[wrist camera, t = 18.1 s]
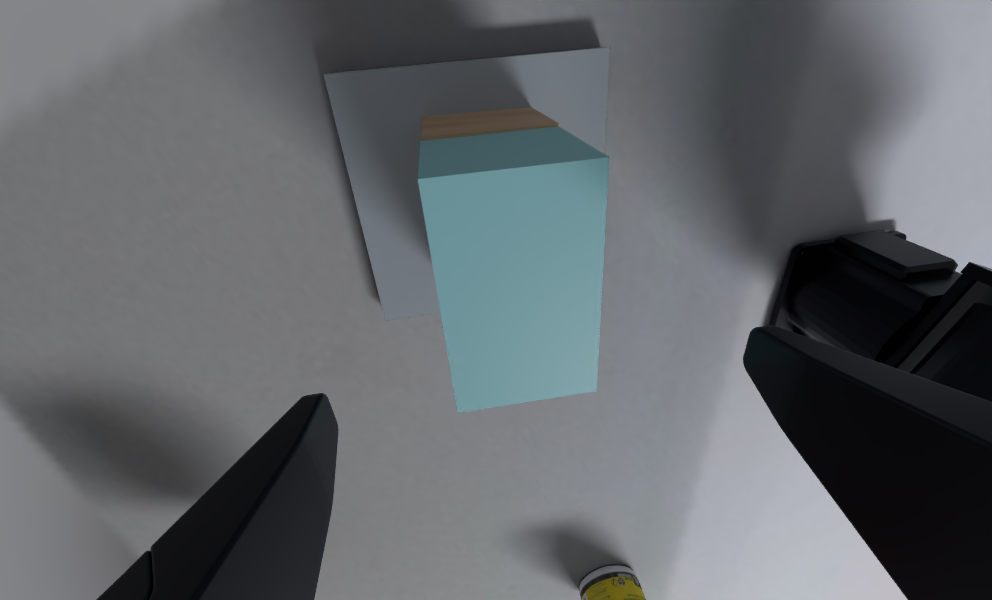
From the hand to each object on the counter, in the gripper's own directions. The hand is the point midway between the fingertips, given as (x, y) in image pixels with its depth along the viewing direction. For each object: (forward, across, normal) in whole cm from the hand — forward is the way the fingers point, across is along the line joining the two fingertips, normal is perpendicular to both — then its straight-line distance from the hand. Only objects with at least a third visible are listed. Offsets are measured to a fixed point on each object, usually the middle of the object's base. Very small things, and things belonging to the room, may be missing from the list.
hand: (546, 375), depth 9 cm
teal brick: (+8, 0, 0) cm, 8 cm away
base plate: (+13, 0, 0) cm, 13 cm away
